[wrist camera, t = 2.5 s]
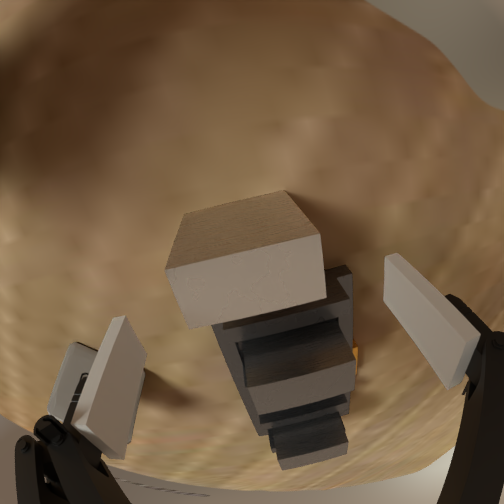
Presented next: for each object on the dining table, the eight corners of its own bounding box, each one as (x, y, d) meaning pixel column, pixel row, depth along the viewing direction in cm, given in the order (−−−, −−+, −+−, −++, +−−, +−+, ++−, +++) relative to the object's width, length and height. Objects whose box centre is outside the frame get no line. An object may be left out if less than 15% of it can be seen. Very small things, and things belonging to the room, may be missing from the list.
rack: (205, 298, 26) (202, 372, 18) (351, 263, 26) (397, 322, 18) (257, 427, 37) (265, 479, 29) (349, 404, 37) (368, 452, 29)
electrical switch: (147, 368, 29) (133, 440, 21) (139, 388, 32) (126, 453, 24) (71, 337, 27) (42, 404, 19) (71, 361, 29) (47, 422, 21)
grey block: (184, 213, 22) (164, 270, 14) (284, 190, 22) (320, 233, 14) (198, 258, 24) (189, 329, 16) (292, 236, 24) (326, 297, 16)
